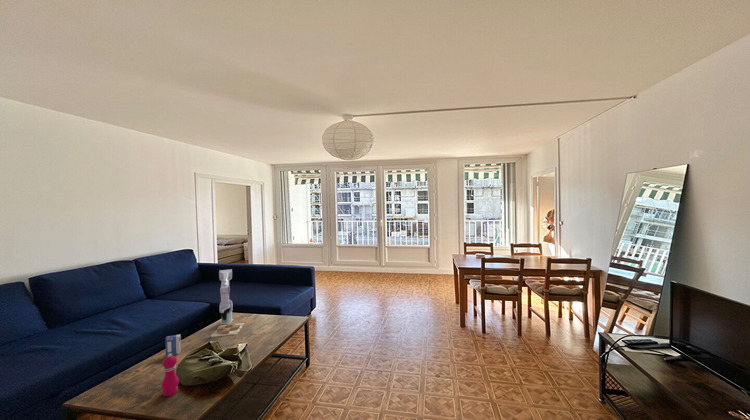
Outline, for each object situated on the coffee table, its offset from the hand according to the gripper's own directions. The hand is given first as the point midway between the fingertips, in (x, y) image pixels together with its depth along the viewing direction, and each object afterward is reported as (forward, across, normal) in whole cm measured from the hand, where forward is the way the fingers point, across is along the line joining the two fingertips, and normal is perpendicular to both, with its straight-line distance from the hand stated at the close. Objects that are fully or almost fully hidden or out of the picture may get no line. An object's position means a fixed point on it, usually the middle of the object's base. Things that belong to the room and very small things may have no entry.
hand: (225, 318), depth 217 cm
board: (+9, 0, +2) cm, 10 cm away
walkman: (+10, +31, -22) cm, 39 cm away
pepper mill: (+10, +74, -2) cm, 75 cm away
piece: (+2, 0, 0) cm, 2 cm away
